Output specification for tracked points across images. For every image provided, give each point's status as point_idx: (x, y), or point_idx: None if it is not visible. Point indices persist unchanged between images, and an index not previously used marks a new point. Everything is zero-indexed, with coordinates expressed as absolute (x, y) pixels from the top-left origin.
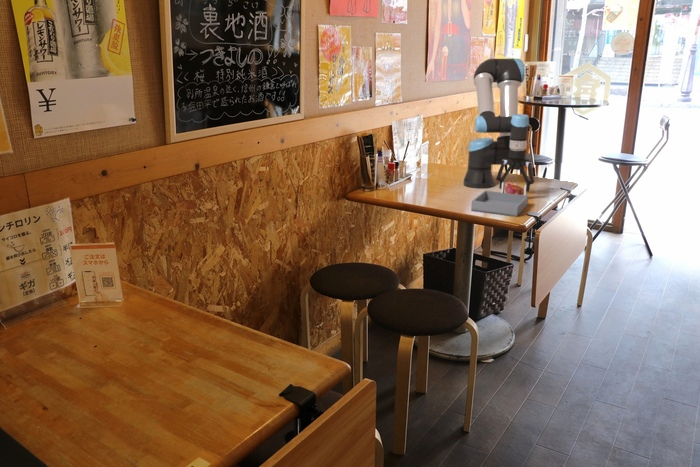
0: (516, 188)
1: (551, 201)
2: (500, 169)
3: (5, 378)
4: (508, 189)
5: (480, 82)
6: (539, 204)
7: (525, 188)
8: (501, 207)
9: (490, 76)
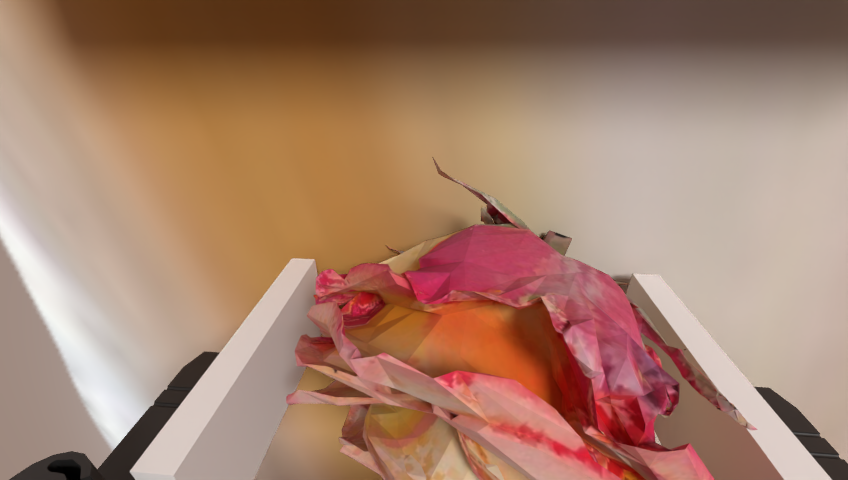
0: (382, 338)
1: (35, 302)
2: None
3: None
4: (584, 289)
5: None
6: (17, 100)
7: (204, 389)
8: None
9: None
